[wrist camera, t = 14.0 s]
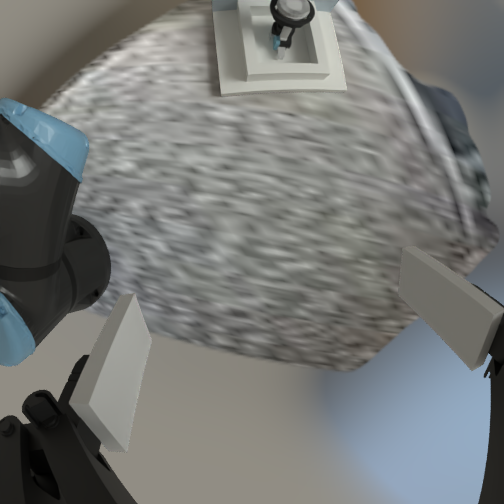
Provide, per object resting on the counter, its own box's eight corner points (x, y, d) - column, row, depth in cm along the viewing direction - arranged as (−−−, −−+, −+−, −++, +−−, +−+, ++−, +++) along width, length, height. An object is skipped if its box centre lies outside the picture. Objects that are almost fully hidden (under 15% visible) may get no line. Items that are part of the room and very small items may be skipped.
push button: (297, 62, 34) (318, 33, 24) (259, 59, 33) (271, 26, 24) (297, 26, 32) (316, -8, 23) (260, 22, 32) (271, -14, 22)
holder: (221, 97, 36) (220, 21, 15) (212, 9, 32) (208, -86, 11) (343, 92, 37) (430, 42, 16) (325, 9, 33) (382, -66, 12)
